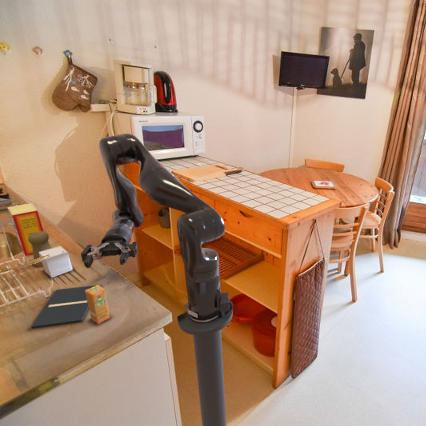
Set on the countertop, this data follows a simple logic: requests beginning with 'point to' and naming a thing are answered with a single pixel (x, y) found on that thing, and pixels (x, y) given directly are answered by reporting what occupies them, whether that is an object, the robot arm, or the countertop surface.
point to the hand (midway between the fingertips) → (104, 263)
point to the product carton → (56, 261)
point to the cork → (39, 244)
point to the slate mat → (64, 307)
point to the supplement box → (97, 304)
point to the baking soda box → (25, 224)
